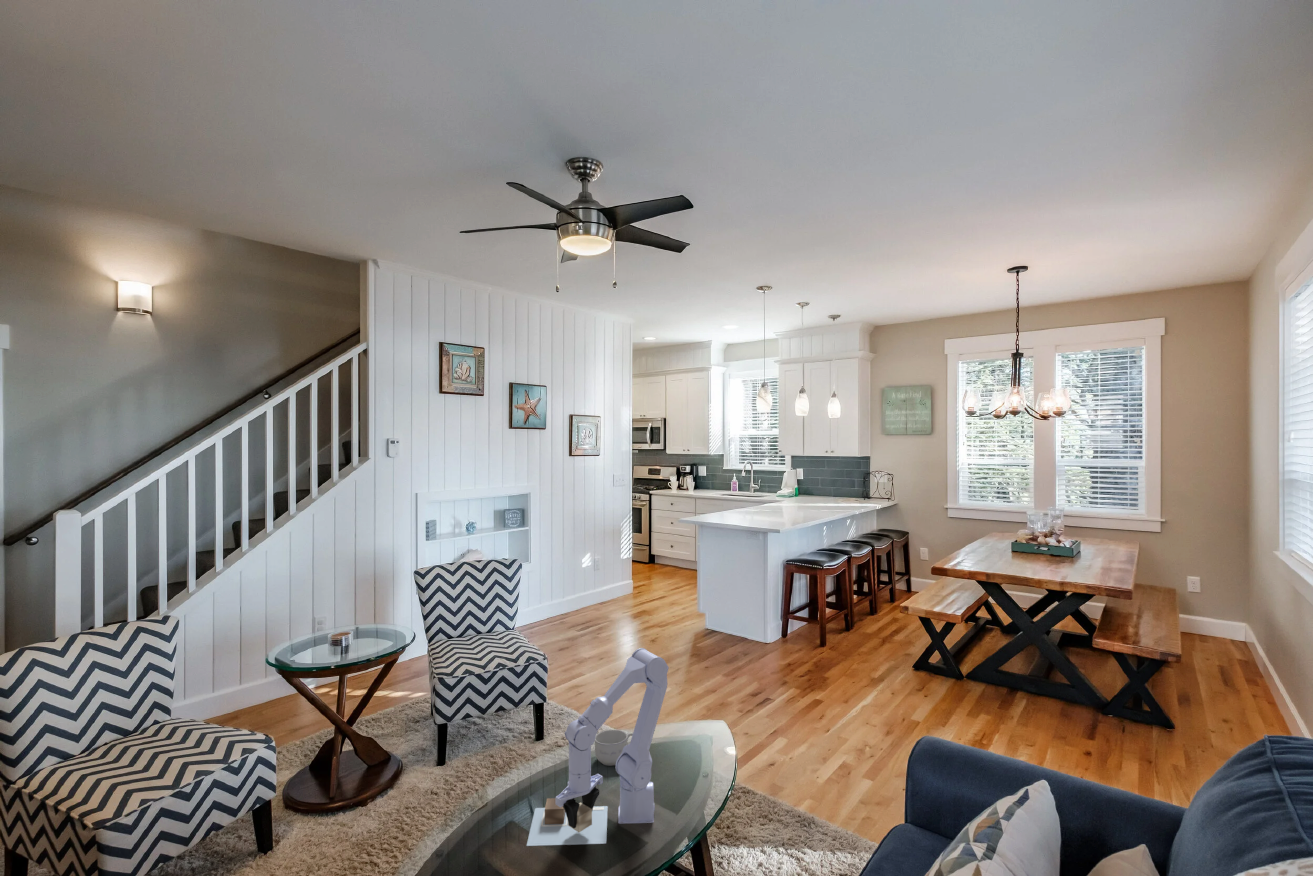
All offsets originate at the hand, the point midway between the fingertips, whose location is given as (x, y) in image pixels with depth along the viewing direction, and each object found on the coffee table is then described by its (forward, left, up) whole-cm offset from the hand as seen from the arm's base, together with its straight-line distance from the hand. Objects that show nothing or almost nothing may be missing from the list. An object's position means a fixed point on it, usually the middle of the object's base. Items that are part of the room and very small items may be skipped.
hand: (579, 821), depth 161 cm
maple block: (0, 0, -1) cm, 1 cm away
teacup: (-9, -38, -4) cm, 39 cm away
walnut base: (+7, -7, -3) cm, 10 cm away
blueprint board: (+3, -4, -4) cm, 6 cm away
